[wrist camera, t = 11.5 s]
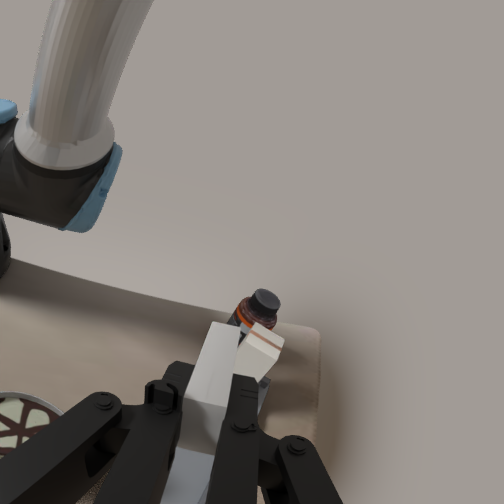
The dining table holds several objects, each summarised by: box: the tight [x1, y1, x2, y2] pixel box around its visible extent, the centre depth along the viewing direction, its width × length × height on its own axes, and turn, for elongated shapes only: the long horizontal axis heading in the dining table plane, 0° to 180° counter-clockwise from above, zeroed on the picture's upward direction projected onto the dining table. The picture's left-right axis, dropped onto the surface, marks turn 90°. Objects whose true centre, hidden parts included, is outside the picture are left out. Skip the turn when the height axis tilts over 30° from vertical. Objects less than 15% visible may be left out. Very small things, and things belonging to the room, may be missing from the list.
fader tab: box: [233, 322, 285, 383], centre depth 37 cm, size 5×5×10 cm
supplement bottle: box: [227, 289, 281, 348], centre depth 46 cm, size 6×6×11 cm
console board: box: [160, 376, 270, 504], centre depth 32 cm, size 10×26×3 cm, turn 160°
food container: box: [0, 391, 64, 459], centre depth 19 cm, size 12×6×10 cm, turn 111°
